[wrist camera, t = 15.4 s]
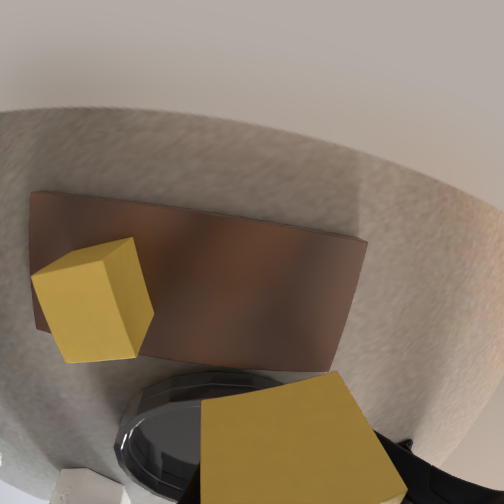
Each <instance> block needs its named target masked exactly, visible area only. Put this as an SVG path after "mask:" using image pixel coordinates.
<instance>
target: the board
mask: <svg viewBox="0 0 504 504" xmlns="http://www.w3.org/2000/svg"><path fill="white" fill-rule="evenodd" d="M129 237H133V240H134V244H135V248H136V252H137V255H138V259H139V263H140V267H141V270H142V274H143V278H144V281H145V285H146V288H147V291H148V295H149V298H150V301H151V305H152V308H153V311H154V315H153V318H152V320H151V323H150V325H149V327H148V330H147V332H146V335H145V337H144V340H143V342H142V345H141V347H140V350H139V352H138V354H139V355H145V356H150V357H156V358H162V359H168V360H175V361H181V362H189V363H196V364H204V365H213V366H222V367H232V368H244V369H257V370H273V371H297V372H329V369H330V366H331V364H332V361H333V358H334V355H335V353H336V350H337V347H338V344H339V341H340V338H341V335H342V332H343V329H344V326H345V323H346V320H347V317H348V313H349V310H350V307H351V304H352V300H353V297H354V293H355V290H356V286H357V283H358V279H359V276H360V272H361V268H362V264H363V260H364V257H365V253H366V248H367V244H368V242H367V241H364V240H362V239H360V238H356V237H351V236H346V235H341V234H336V233H330V232H325V231H320V230H314V229H309V228H303V227H297V226H292V225H286V224H280V223H275V222H269V221H263V220H257V219H251V218H245V217H238V216H232V215H226V214H219V213H213V212H206V211H200V210H193V209H186V208H179V207H172V206H165V205H158V204H150V203H143V202H135V201H127V200H119V199H111V198H103V197H94V196H86V195H77V194H67V193H58V192H48V191H36V192H31V203H30V228H29V249H30V274H31V276H32V275H33V274H35V273H36V272H38V271H39V270H41V269H43V268H44V267H46V266H48V265H49V264H51V263H53V262H54V261H56V260H58V259H59V258H61V257H63V256H65V255H66V254H68V253H70V252H72V251H75V250H79V249H83V248H87V247H91V246H95V245H99V244H104V243H108V242H112V241H116V240H121V239H125V238H129ZM31 288H32V298H33V307H34V315H35V322H36V329H38V330H41V331H45V332H48V333H51V334H52V332H51V330H50V328H49V325H48V323H47V320H46V318H45V315H44V313H43V310H42V308H41V305H40V302H39V299H38V297H37V294H36V291H35V288H34V285H33V282H32V279H31Z"/></svg>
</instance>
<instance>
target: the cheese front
mask: <svg viewBox="0 0 504 504" xmlns="http://www.w3.org/2000/svg"><path fill="white" fill-rule="evenodd" d="M200 486H201V504H400V503H401V501H402V500H403V498H404V496H405V494H406V493H407V491H408V489H407V487H406V485H405V483H404V482H403V480H402V478H401V477H400V475H399V473H398V472H397V470H396V468H395V466H394V465H393V463H392V461H391V460H390V458H389V456H388V455H387V453H386V451H385V450H384V448H383V446H382V445H381V443H380V441H379V440H378V438H377V436H376V435H375V433H374V431H373V429H372V428H371V426H370V424H369V423H368V421H367V419H366V418H365V416H364V414H363V413H362V411H361V410H360V408H359V406H358V405H357V403H356V401H355V400H354V398H353V396H352V395H351V393H350V391H349V390H348V388H347V386H346V385H345V383H344V381H343V380H342V378H341V376H340V375H339V373H338V372H337V371H334V372H331V373H327V374H324V375H320V376H317V377H313V378H309V379H306V380H302V381H298V382H294V383H290V384H286V385H281V386H277V387H272V388H268V389H263V390H258V391H253V392H248V393H243V394H237V395H232V396H226V397H220V398H213V399H206V400H202V402H201V450H200Z"/></svg>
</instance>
